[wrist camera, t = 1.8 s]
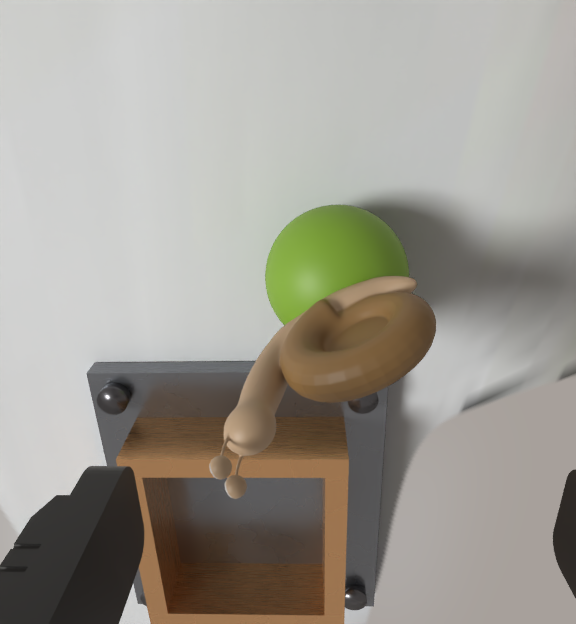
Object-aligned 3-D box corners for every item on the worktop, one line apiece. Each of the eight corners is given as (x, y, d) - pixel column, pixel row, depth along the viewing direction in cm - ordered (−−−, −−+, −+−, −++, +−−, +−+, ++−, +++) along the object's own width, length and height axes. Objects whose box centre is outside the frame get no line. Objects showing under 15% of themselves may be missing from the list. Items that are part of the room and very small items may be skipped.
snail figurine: (227, 242, 22) (146, 403, 11) (361, 167, 20) (429, 265, 9) (288, 340, 23) (274, 562, 13) (416, 278, 22) (525, 469, 11)
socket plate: (94, 362, 24) (57, 411, 21) (385, 360, 24) (400, 410, 20) (142, 588, 31) (121, 655, 27) (371, 590, 30) (380, 659, 27)
